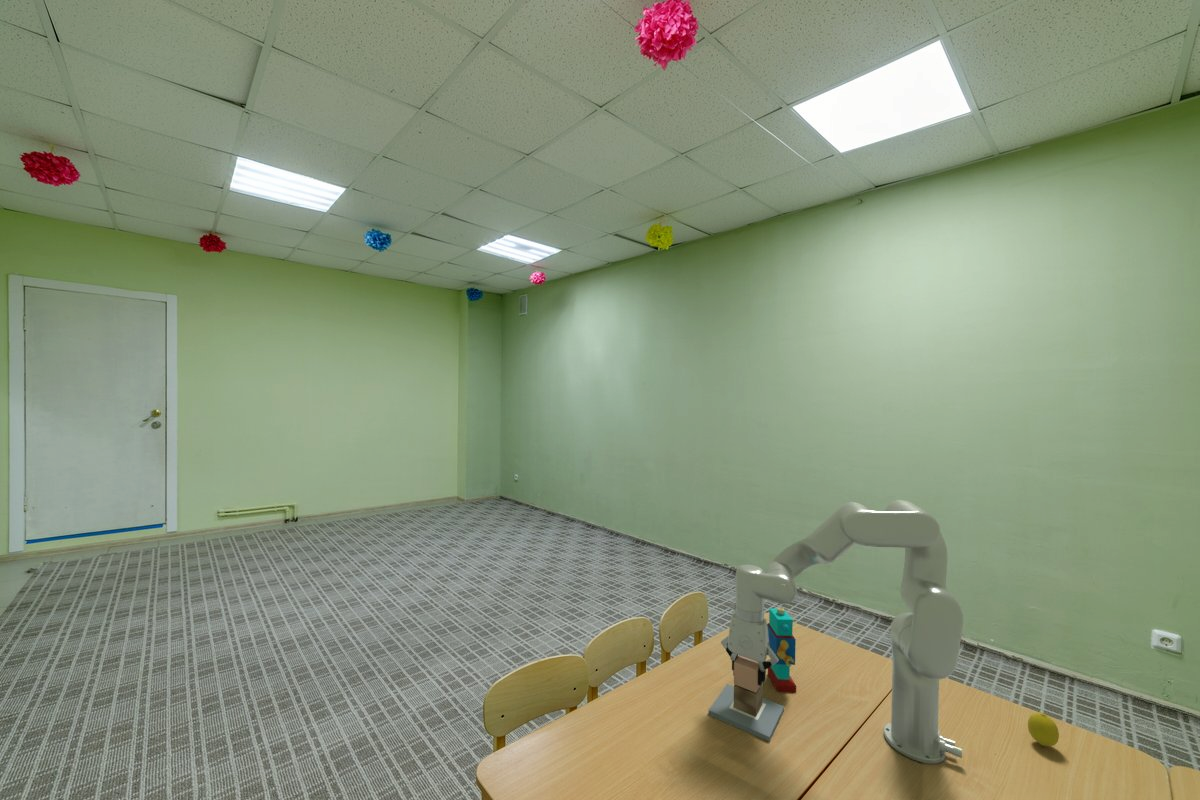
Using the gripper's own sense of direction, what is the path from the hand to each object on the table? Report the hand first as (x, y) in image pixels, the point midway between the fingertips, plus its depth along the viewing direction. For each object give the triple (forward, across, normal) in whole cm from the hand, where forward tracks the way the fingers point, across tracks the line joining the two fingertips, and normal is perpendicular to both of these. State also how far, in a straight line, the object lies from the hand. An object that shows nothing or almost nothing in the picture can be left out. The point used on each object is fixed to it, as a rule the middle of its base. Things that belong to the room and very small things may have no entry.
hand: (748, 677), depth 123 cm
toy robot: (+9, +4, +18) cm, 21 cm away
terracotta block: (+1, 0, 0) cm, 1 cm away
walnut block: (+8, 0, 0) cm, 8 cm away
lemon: (+9, +63, +32) cm, 71 cm away
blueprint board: (+9, 0, -1) cm, 9 cm away
